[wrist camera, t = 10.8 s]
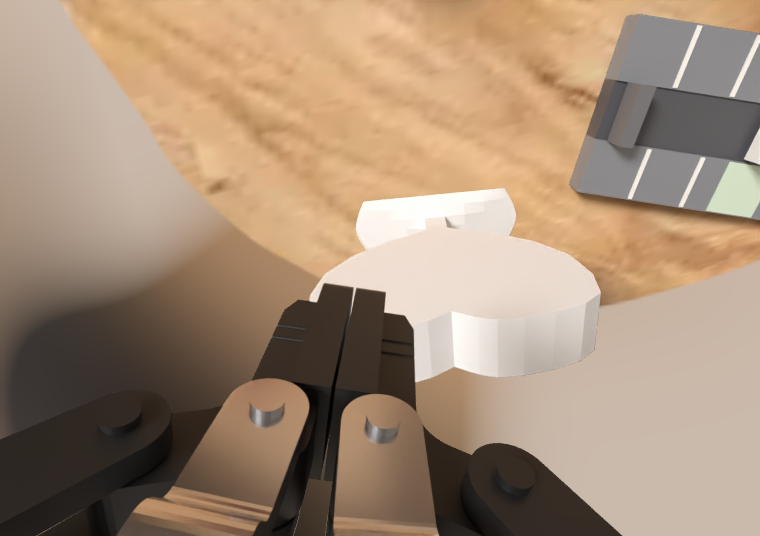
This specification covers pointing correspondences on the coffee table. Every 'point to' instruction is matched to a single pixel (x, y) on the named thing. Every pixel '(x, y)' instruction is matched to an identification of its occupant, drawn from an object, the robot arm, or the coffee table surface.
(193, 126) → the coffee table surface
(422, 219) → the heart sculpture
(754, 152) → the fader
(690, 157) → the console
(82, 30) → the coffee table surface
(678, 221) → the coffee table surface
